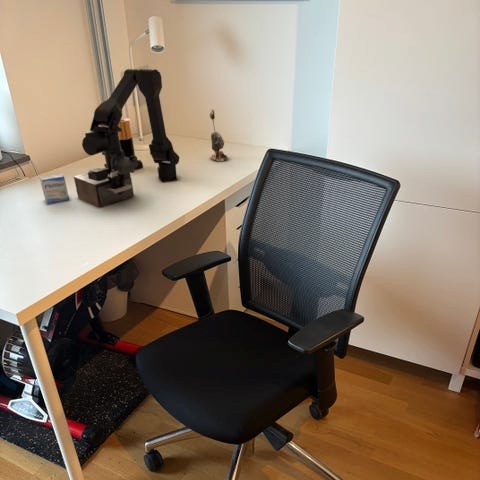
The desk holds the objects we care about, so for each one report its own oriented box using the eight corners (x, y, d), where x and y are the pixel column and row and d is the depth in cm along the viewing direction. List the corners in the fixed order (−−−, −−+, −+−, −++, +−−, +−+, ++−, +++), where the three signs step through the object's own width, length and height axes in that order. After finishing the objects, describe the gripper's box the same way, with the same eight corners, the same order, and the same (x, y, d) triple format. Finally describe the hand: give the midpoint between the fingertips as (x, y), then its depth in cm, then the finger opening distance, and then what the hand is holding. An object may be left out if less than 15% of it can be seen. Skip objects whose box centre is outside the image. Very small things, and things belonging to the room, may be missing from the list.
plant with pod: (207, 163, 214) (204, 113, 203) (212, 155, 223) (209, 107, 212) (226, 163, 213) (223, 113, 202) (230, 155, 222) (228, 107, 211)
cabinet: (133, 196, 182) (130, 174, 178) (99, 207, 174) (94, 184, 169) (112, 188, 190) (108, 166, 186) (78, 198, 182) (73, 176, 177)
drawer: (141, 197, 178) (139, 180, 175) (109, 208, 170) (106, 190, 167) (114, 187, 188) (111, 170, 185) (82, 197, 180) (79, 179, 177)
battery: (116, 171, 208) (108, 120, 196) (124, 166, 213) (116, 116, 202) (132, 172, 206) (124, 121, 195) (139, 167, 211) (132, 117, 200)
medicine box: (47, 204, 178) (41, 180, 173) (45, 200, 181) (39, 176, 176) (69, 200, 181) (64, 176, 176) (67, 196, 184) (61, 173, 179)
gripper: (101, 157, 156) (111, 206, 164) (149, 145, 167) (156, 191, 175) (82, 152, 162) (92, 199, 171) (129, 141, 174) (136, 185, 182)
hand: (120, 194), depth 174 cm, fingers closed, pressing on drawer
